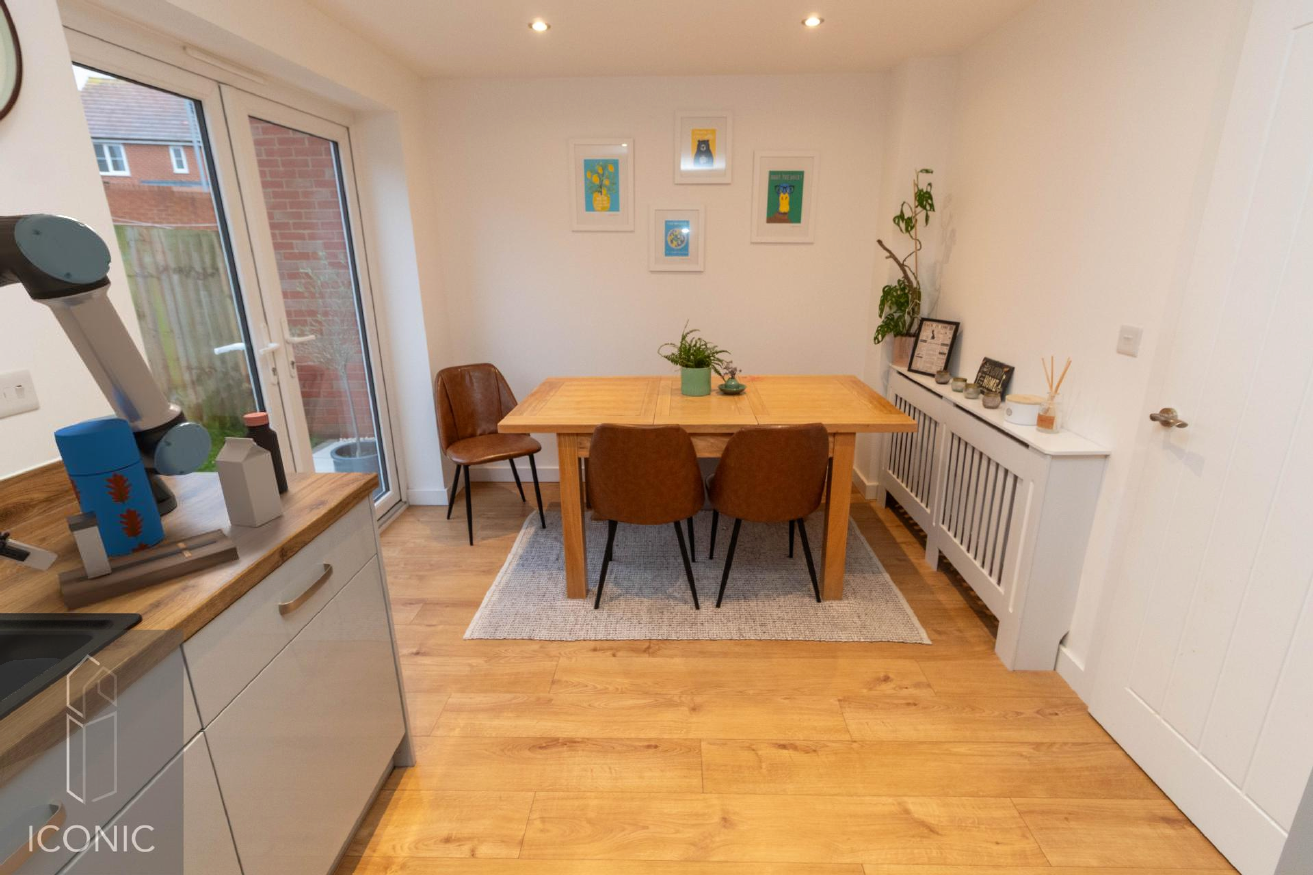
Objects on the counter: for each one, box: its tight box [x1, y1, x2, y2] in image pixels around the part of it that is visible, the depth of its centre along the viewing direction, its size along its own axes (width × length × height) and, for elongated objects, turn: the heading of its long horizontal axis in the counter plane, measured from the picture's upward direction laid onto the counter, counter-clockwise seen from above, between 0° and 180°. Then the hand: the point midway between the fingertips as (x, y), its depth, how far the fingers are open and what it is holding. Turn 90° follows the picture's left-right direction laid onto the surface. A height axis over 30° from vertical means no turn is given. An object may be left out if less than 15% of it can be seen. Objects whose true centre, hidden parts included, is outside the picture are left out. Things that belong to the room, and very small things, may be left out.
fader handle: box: [65, 511, 112, 579], centre depth 102 cm, size 5×4×10 cm
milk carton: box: [214, 436, 284, 528], centre depth 128 cm, size 7×7×19 cm
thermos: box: [53, 419, 165, 557], centre depth 116 cm, size 11×11×25 cm
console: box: [57, 528, 240, 612], centre depth 109 cm, size 12×24×3 cm, turn 137°
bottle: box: [242, 411, 289, 495], centre depth 144 cm, size 7×7×20 cm
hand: (51, 562), depth 99 cm, fingers closed
